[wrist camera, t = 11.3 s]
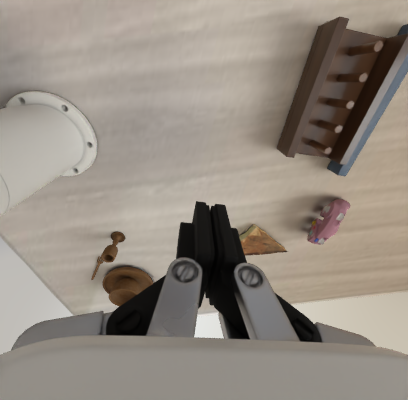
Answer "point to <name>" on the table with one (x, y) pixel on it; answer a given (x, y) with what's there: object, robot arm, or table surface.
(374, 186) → the table surface
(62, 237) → the table surface
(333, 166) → the bar
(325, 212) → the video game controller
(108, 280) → the place setting
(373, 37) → the rack
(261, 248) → the golden brown flat wedge
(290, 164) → the table surface
